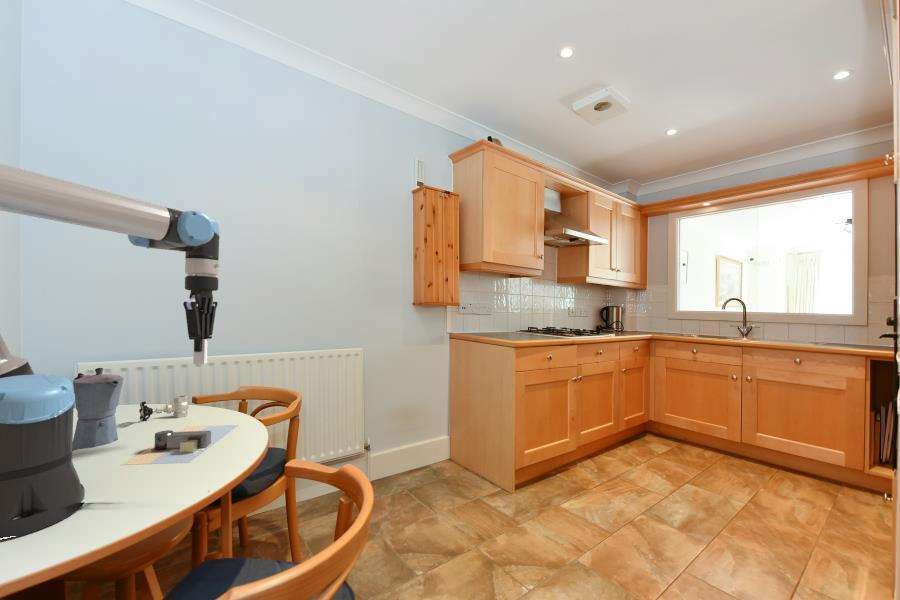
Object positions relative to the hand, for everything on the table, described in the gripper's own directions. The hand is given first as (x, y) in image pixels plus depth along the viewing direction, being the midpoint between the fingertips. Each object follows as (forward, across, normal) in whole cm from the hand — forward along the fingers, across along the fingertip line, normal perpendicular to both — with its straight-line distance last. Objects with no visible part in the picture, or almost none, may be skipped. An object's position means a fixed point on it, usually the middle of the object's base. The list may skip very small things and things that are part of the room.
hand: (200, 363), depth 102 cm
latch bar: (+19, -9, -1) cm, 21 cm away
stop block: (+19, -12, -4) cm, 23 cm away
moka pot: (+21, -3, +23) cm, 31 cm away
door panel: (+20, -5, 0) cm, 21 cm away
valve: (+21, +19, +19) cm, 34 cm away
